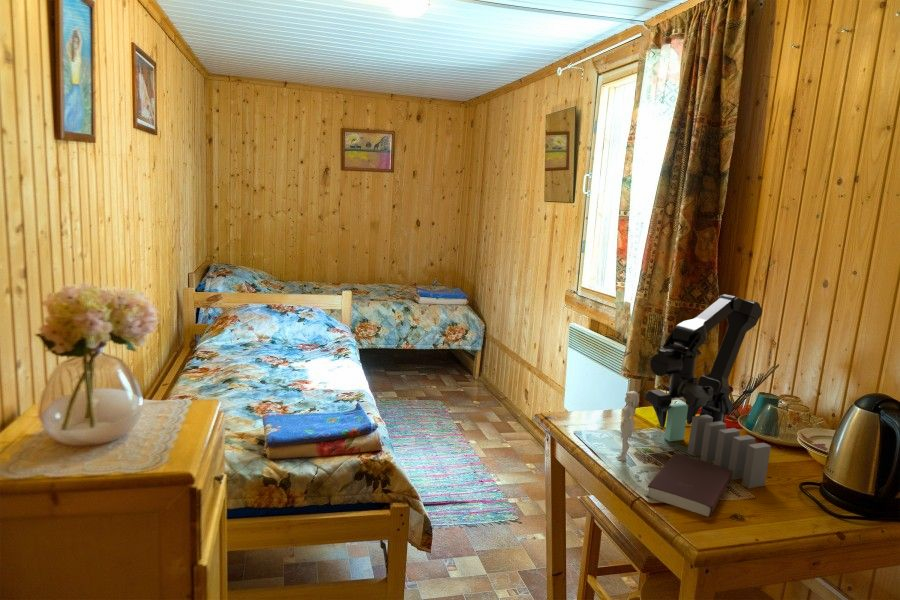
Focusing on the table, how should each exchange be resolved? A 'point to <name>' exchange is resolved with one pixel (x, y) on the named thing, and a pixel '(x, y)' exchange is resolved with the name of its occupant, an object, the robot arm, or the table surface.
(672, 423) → the domino head
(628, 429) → the human figurine
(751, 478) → the domino
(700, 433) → the domino
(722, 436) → the domino
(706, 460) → the domino
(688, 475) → the book
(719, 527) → the table surface
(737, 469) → the domino
